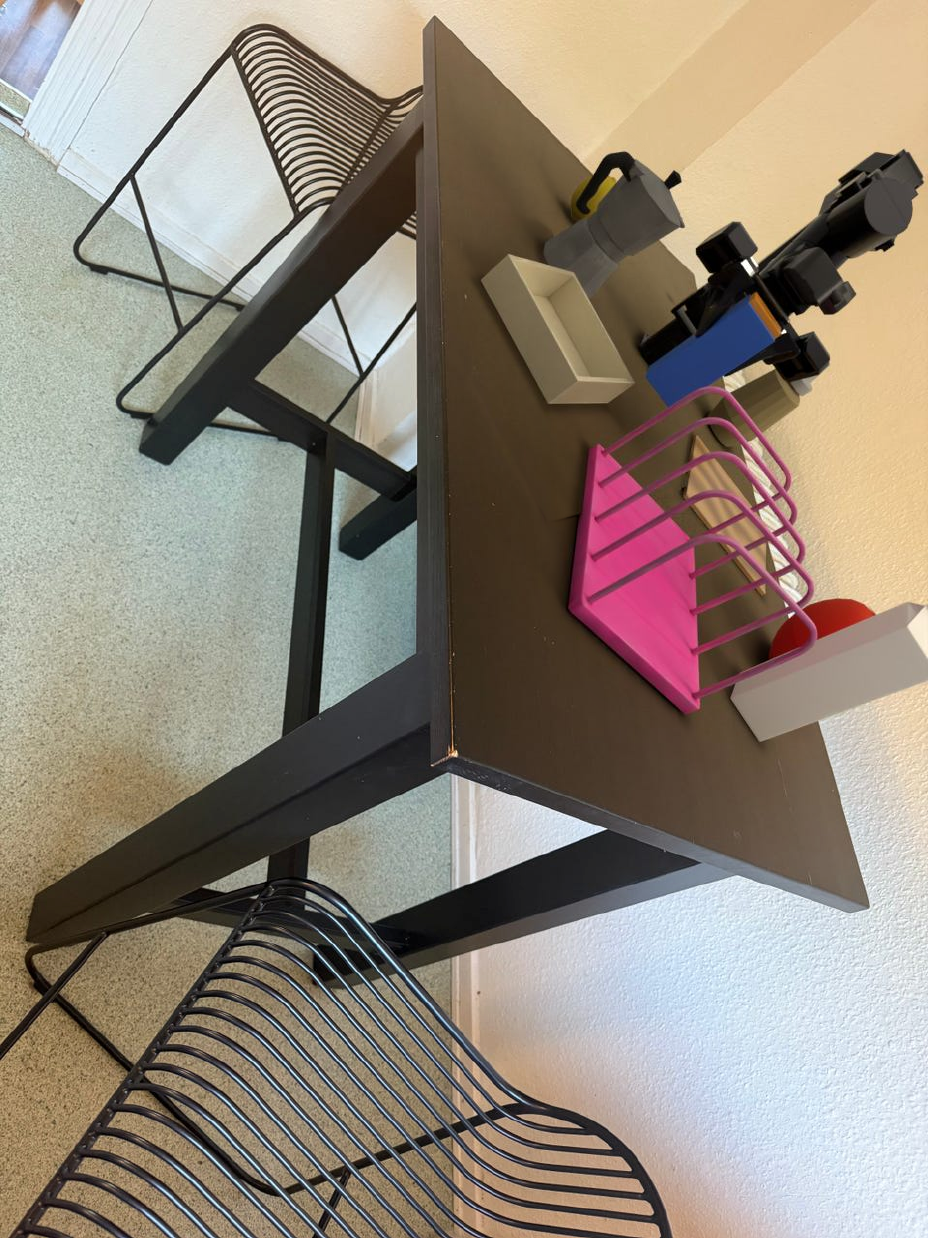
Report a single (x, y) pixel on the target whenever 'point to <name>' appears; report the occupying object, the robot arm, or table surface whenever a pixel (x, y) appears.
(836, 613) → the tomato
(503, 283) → the basin
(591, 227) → the coffeepot
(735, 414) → the squeeze bottle
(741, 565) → the square wooden board
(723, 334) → the orange-tipped blue bar
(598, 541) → the file sorter
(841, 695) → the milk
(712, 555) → the table surface
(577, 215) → the lemon
